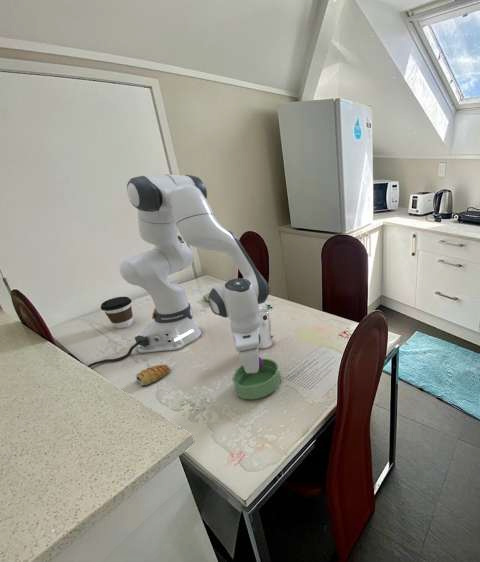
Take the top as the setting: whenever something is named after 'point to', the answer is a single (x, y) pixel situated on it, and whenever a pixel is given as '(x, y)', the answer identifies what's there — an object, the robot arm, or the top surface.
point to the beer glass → (265, 328)
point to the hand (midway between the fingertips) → (255, 366)
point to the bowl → (257, 380)
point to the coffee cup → (119, 311)
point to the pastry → (152, 374)
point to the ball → (260, 363)
